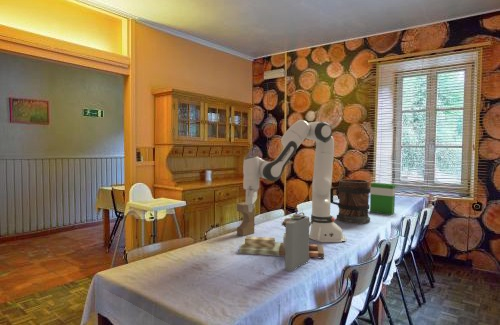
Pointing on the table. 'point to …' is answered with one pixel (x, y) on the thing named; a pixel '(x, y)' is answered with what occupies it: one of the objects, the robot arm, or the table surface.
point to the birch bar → (260, 241)
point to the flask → (296, 242)
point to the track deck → (280, 250)
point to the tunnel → (284, 240)
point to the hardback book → (382, 198)
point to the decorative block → (245, 220)
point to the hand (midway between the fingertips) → (251, 210)
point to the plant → (292, 218)
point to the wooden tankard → (352, 201)
